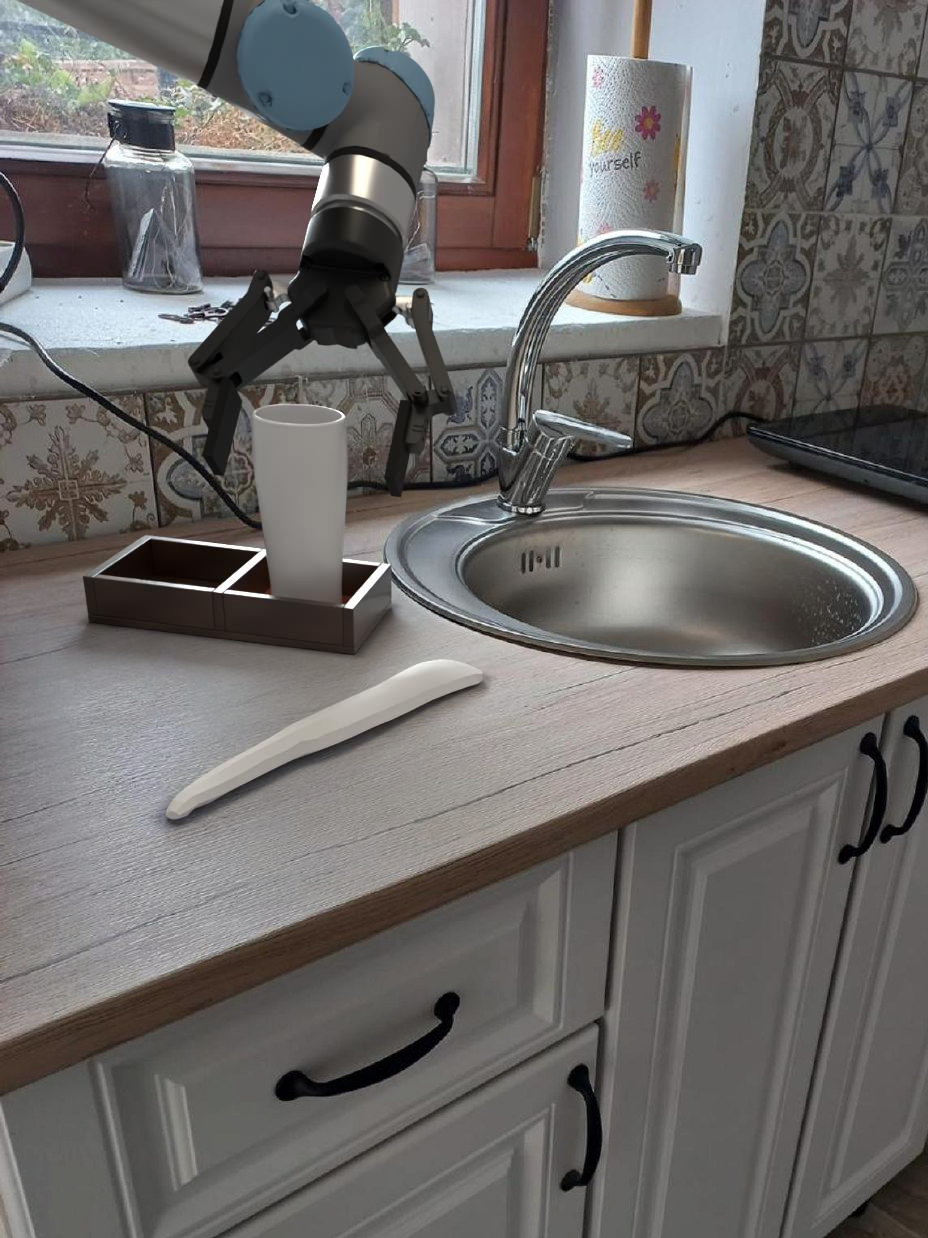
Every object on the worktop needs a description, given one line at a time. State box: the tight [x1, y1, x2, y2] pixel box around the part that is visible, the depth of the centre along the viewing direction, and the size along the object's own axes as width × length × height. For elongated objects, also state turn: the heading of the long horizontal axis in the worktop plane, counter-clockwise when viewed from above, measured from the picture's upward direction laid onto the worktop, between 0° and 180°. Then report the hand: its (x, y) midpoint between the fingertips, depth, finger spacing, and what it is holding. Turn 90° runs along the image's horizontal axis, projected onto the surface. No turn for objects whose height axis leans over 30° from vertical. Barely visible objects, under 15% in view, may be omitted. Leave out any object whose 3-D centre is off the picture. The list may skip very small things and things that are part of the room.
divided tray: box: [82, 534, 393, 655], centre depth 96 cm, size 20×11×4 cm, turn 84°
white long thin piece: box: [165, 658, 484, 820], centre depth 80 cm, size 28×4×2 cm, turn 149°
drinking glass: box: [250, 403, 349, 604], centre depth 93 cm, size 7×7×15 cm
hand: (302, 477), depth 92 cm, fingers open, 13 cm apart
